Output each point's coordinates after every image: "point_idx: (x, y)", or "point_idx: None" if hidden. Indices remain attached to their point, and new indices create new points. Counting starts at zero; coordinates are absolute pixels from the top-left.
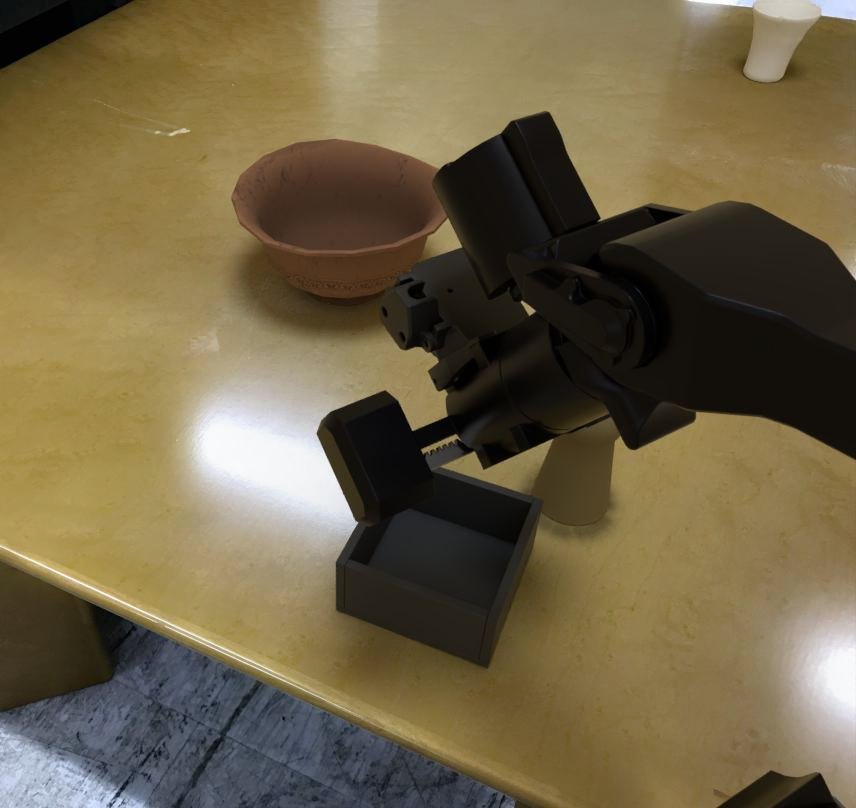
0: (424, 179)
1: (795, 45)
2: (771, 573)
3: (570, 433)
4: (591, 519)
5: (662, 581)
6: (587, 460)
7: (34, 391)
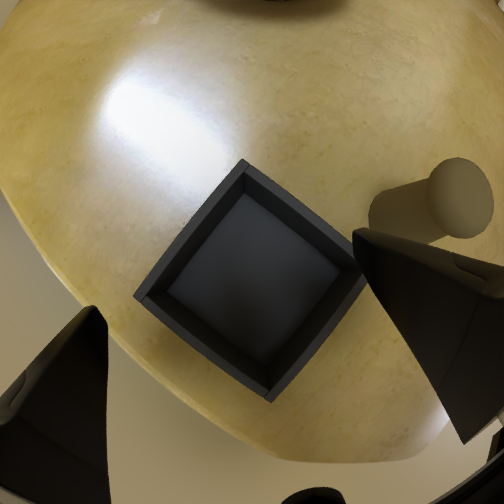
0: None
1: None
2: None
3: (462, 442)
4: None
5: None
6: (433, 234)
7: (43, 63)
